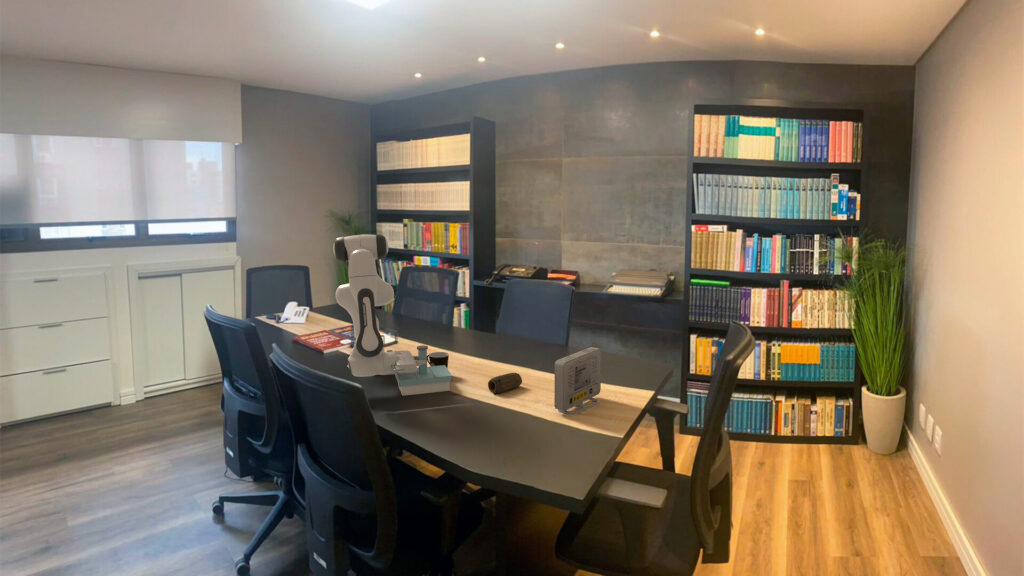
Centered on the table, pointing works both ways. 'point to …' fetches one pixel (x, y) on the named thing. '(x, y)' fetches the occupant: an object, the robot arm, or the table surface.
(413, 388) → the tub
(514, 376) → the hollow wooden cylinder
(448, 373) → the lid
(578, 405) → the network device
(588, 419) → the table surface
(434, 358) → the coffee mug
